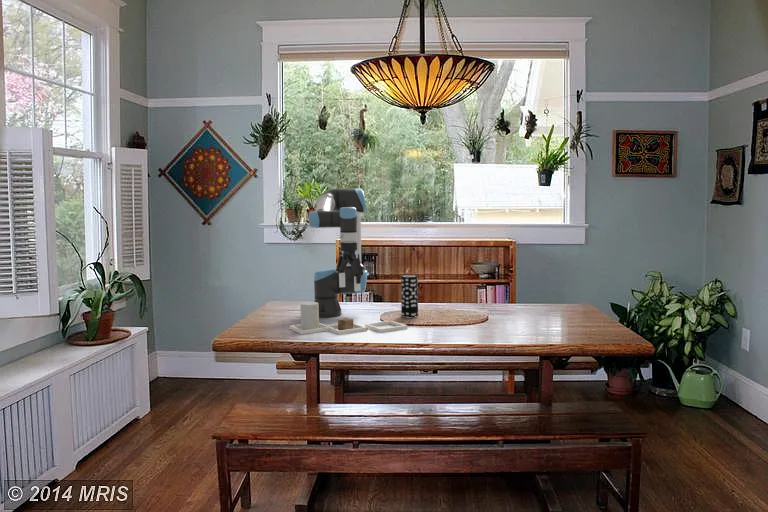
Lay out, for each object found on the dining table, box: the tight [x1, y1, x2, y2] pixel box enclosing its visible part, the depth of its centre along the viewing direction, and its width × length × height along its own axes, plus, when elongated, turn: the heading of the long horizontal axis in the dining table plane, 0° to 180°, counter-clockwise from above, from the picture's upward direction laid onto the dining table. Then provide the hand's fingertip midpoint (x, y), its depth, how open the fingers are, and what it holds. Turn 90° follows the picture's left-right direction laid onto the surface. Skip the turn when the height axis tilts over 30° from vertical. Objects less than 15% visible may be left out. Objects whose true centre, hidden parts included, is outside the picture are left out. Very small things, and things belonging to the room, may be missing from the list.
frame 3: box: [364, 320, 408, 333], centre depth 308 cm, size 14×14×2 cm
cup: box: [299, 301, 320, 330], centre depth 307 cm, size 8×8×12 cm
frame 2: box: [325, 322, 368, 335], centre depth 305 cm, size 14×14×2 cm
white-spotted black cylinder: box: [400, 274, 419, 318], centre depth 334 cm, size 8×8×20 cm
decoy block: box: [337, 317, 355, 330], centre depth 305 cm, size 5×5×5 cm
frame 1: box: [289, 322, 330, 335], centre depth 307 cm, size 14×14×2 cm
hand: (349, 289), depth 304 cm, fingers open, 13 cm apart
